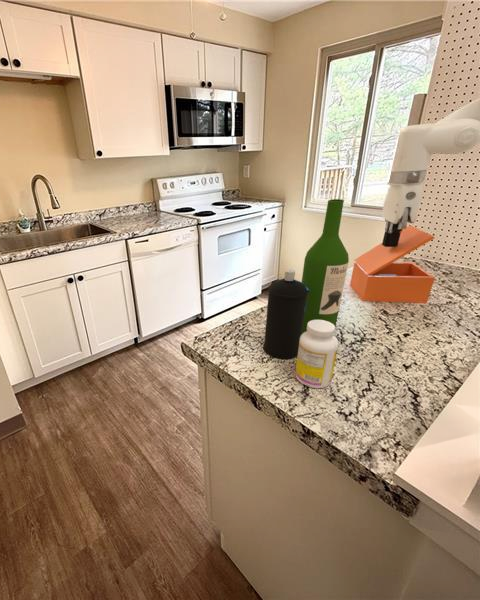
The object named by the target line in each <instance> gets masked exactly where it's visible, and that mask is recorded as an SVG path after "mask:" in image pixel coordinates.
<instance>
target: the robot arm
mask: <svg viewBox="0 0 480 600" xmlns="http://www.w3.org/2000/svg"><path fill="white" fill-rule="evenodd" d="M479 144H480V97H479V98H477V99H475V100H473V101H471V102H469V103H467V104H466V105H464V106H462V107H460V108H458V109H456V110H455V111H453V112H451V113H449V114H448V115H446V116H444V117H443V118H441V119H440V120H438V121H436V122H435V123H420V124H413V125H406V126H404V127H402V128H401V129H400V131H398V135H397V139H396V143H395V148H394V152H393V156H392V162H391V164H390V165H391V166H390V170H389V174H388V175H389V176H388V179H387V185H388V189H387V191H386V195H385V198H384V202H383V205H382V210H381V217H382V218H383V219H384V222H385V226H384V227H385V228H384V235H383V239H382V242H383V243H382V242H381V243H382V245H383V246H385V247H396V246H397V245H398V242H399V238H400V234H401V232H402V230H403V229H406V228H407V227H408V226H407V225H408V223H409V224H414V223H416V222H417V219H418V215H419V209H420V205H421V200H422V193H423V185H424V183H425V179H426V176H427V172H428V168H429V165H430V160H431V157H432V155H437V154H438V155H459V154H462V153H466V152H468V151H470V150H472V149H473V148H475V147H476V146H477V145H479Z"/></svg>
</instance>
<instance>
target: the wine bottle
mask: <svg viewBox="0 0 480 600" xmlns="http://www.w3.org/2000/svg"><path fill="white" fill-rule="evenodd" d="M344 203H345V200H344V199H341V198H339V199H338V198H333V199H328V200H327V205H326V211H325V217H324V223H323V228H322V233H321V235H320V237H319V238H318V239H317V240H316V241H315V242H314V243H313V245H312V246H311V247H310V248H309V249H308V250H307V251H306V254H305V257H304V259H303V260H304V261H303V268H302V274H301V275H302V276H301V282H302V283H303V284H304V285H305V286H306V287H307V288H308V289H309V293H308V295H307V300H306V307H305V313H304V320H303V327H302V334H303V333H304V332H306V331H307V324H308V322H309V321H311V320H325V321H328V322H330V323H332V324H334V326H335V328H337V327H336V326H337V321H338V317H339V312H340V307H341V302H342V297H343V291H344V286H345V282H346V277H347V273H348V267H349V261H350V258H349V253H348V251H347V249H346V247H345V245H344V243H343V241H342V240H341V238H340V234H339V233H340V227H341V220H342V214H343V209H344ZM302 334H301V335H302Z"/></svg>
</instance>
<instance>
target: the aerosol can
mask: <svg viewBox="0 0 480 600" xmlns="http://www.w3.org/2000/svg"><path fill="white" fill-rule="evenodd" d="M295 275H296V271H295V270H294V269H285V270H284V278H280V279H277V280H275V281H274V282H272V283H270V284H269V285H268V286H267V291H268V296H267V307H266V308H267V309H266V320H265V332H264V343H263V344H262V349H263V351H264V352H265V353H266V354H267V355H269V356H270V357H273V358H276V359H280V360H291V359H295V358H297V356H298V349H299V341H300V337H301V334H302V327H303V320H304V313H305V307H306V300H307V295H308V293H309V289H308V288H307V287H306V286H305V285H304V284H303V283H302V281H299V280H297V279H295V278H296V277H295Z"/></svg>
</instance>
